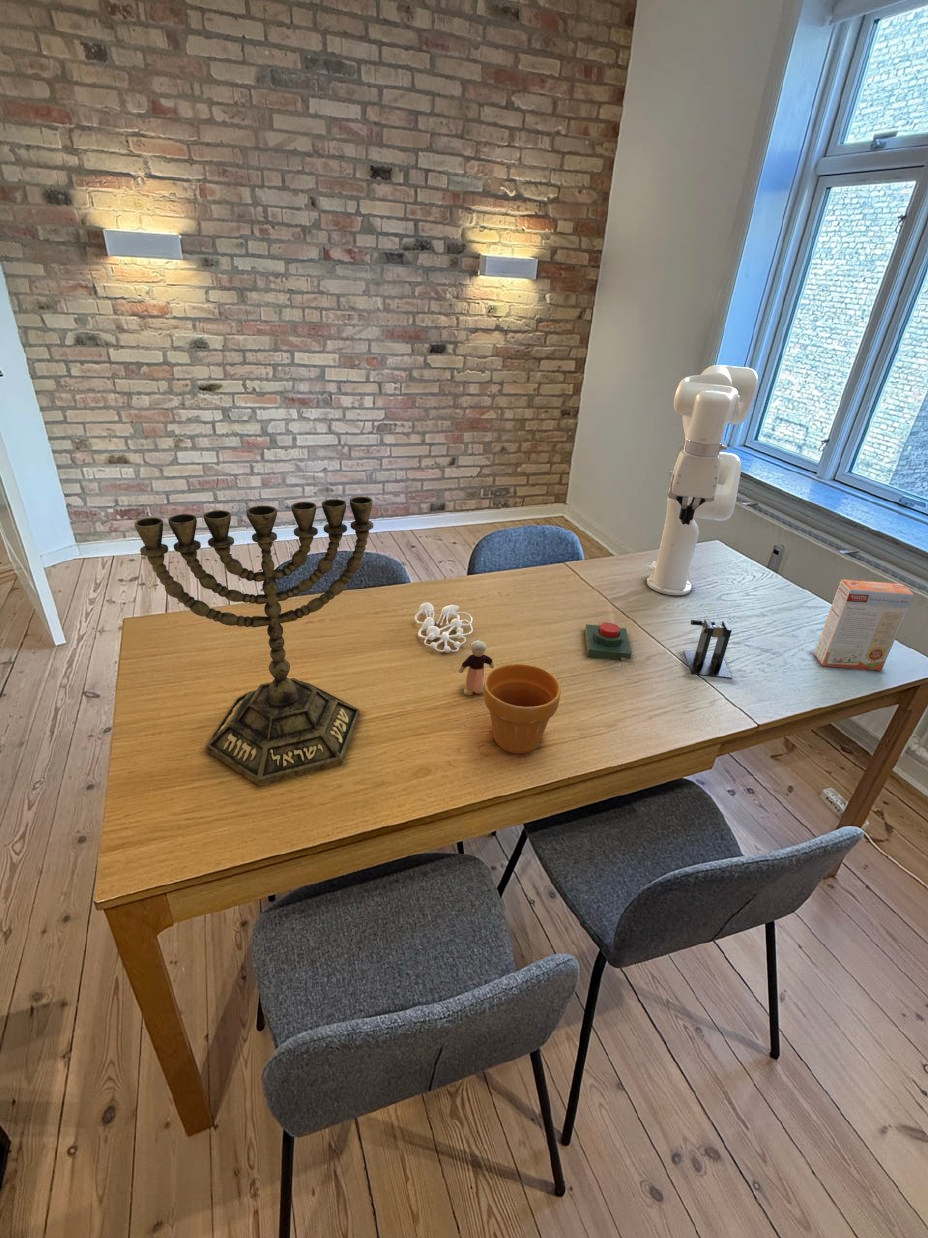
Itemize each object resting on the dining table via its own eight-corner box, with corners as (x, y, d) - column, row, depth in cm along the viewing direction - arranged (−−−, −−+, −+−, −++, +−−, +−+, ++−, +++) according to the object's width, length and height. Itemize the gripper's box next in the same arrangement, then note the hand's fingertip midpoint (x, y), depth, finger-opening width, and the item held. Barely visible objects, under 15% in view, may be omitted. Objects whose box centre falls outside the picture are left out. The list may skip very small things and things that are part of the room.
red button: (598, 627, 157) (599, 621, 156) (617, 629, 157) (618, 623, 156) (600, 637, 153) (601, 631, 152) (619, 639, 153) (620, 633, 152)
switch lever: (689, 626, 157) (691, 616, 157) (712, 628, 157) (714, 619, 156) (704, 636, 144) (706, 626, 144) (729, 638, 144) (731, 628, 144)
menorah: (191, 804, 106) (135, 556, 84) (180, 716, 126) (132, 495, 104) (398, 749, 120) (397, 524, 98) (359, 677, 140) (351, 476, 118)
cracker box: (870, 658, 158) (903, 582, 147) (881, 672, 152) (917, 594, 142) (812, 653, 158) (840, 577, 148) (821, 666, 153) (852, 589, 143)
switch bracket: (682, 654, 155) (693, 611, 149) (720, 658, 154) (733, 615, 149) (690, 677, 146) (702, 633, 141) (730, 682, 146) (744, 637, 140)
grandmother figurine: (464, 700, 135) (467, 649, 129) (455, 690, 138) (458, 640, 131) (495, 691, 138) (500, 641, 132) (486, 682, 141) (490, 632, 135)
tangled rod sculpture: (474, 659, 150) (477, 645, 148) (413, 654, 149) (414, 640, 147) (469, 617, 167) (472, 603, 165) (414, 611, 165) (416, 598, 163)
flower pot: (468, 724, 128) (472, 670, 121) (530, 709, 133) (537, 657, 127) (499, 771, 117) (505, 715, 110) (566, 753, 122) (575, 698, 115)
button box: (584, 631, 162) (587, 618, 160) (624, 635, 162) (627, 621, 160) (587, 657, 152) (589, 642, 150) (629, 661, 151) (632, 647, 149)
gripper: (732, 445, 149) (713, 519, 159) (666, 441, 151) (651, 514, 161) (739, 455, 143) (719, 531, 153) (671, 450, 145) (655, 525, 154)
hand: (684, 522), depth 157 cm, fingers closed
